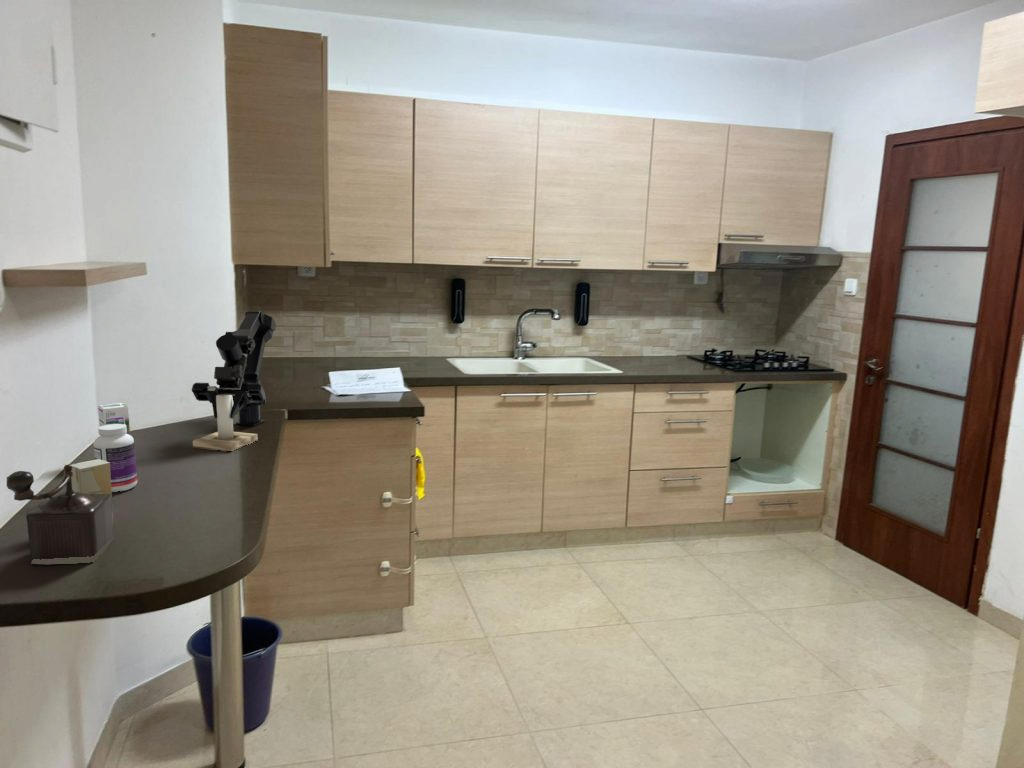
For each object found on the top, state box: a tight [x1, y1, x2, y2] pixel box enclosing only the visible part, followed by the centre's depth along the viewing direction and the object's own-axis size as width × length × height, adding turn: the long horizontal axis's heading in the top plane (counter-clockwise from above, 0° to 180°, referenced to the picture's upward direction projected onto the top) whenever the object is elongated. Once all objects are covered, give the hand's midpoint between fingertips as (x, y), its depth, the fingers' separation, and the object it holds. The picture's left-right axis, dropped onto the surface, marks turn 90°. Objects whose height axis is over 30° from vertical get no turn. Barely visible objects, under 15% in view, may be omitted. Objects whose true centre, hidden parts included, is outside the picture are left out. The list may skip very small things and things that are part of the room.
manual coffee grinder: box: [6, 463, 115, 561], centre depth 125 cm, size 16×11×18 cm
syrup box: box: [97, 402, 131, 435], centre depth 182 cm, size 6×6×14 cm
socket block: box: [192, 431, 259, 452], centre depth 200 cm, size 12×12×2 cm
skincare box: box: [70, 459, 114, 518], centre depth 142 cm, size 6×4×12 cm
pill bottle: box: [92, 424, 138, 493], centre depth 162 cm, size 8×8×14 cm
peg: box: [216, 394, 234, 441], centre depth 199 cm, size 4×4×12 cm
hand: (223, 417), depth 198 cm, fingers closed on peg, 4 cm apart
